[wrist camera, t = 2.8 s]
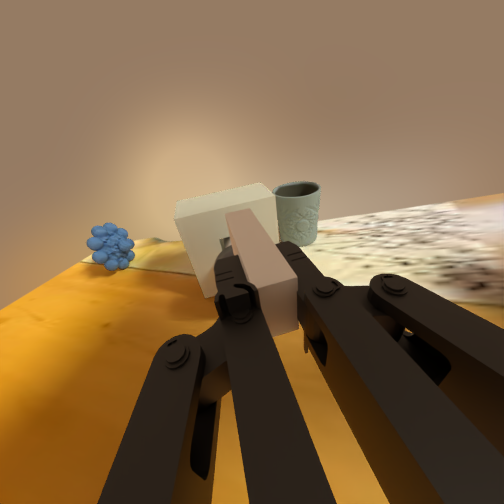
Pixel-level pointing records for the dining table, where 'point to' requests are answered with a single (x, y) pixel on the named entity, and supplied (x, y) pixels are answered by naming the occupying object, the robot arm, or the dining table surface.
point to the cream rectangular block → (220, 225)
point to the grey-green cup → (298, 211)
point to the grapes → (111, 246)
